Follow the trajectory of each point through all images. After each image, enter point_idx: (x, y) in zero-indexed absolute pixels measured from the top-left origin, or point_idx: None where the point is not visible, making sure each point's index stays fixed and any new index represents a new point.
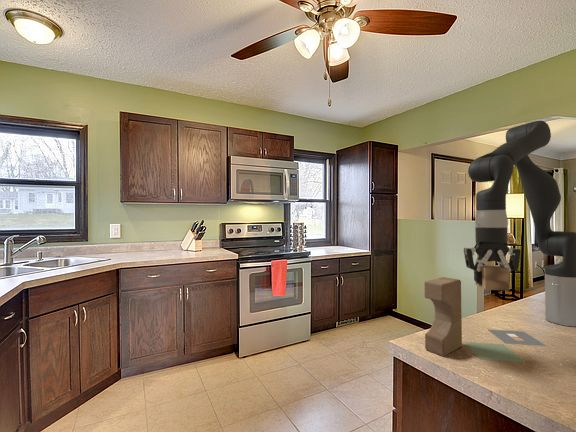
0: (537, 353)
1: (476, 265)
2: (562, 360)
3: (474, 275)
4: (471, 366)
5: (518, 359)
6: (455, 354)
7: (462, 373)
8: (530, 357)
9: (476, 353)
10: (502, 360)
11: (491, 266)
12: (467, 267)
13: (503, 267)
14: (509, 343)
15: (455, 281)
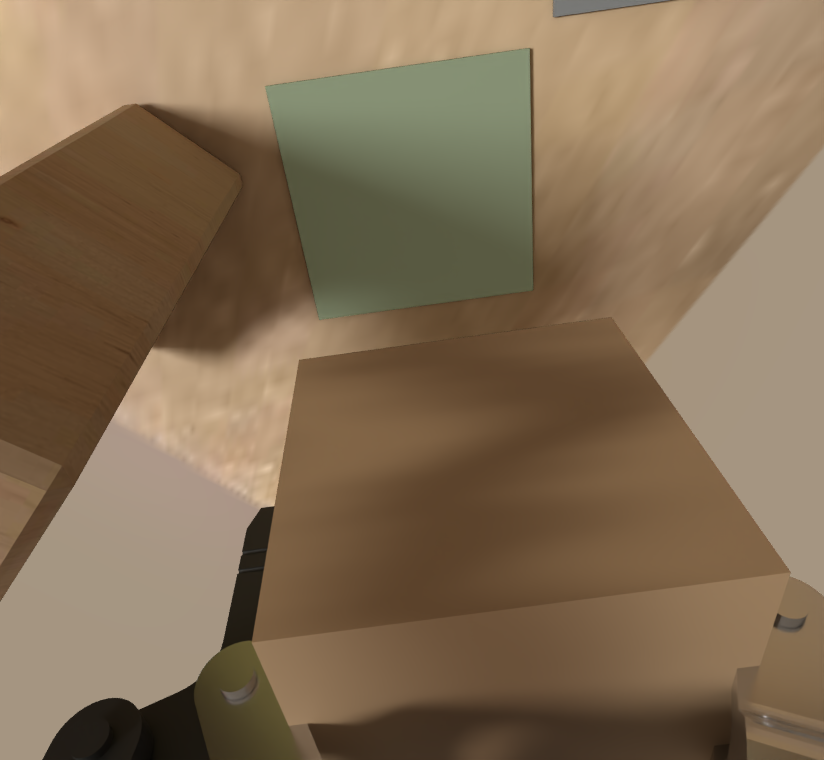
0: (670, 135)
1: (249, 757)
2: (743, 197)
3: (239, 598)
4: (262, 395)
5: (508, 266)
6: (200, 296)
7: (218, 459)
8: (592, 209)
9: (311, 259)
10: (421, 303)
11: (531, 733)
12: (86, 720)
13: (699, 755)
14: (582, 10)
15: (3, 574)
